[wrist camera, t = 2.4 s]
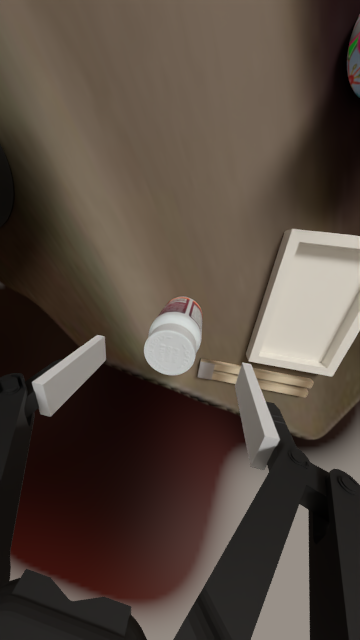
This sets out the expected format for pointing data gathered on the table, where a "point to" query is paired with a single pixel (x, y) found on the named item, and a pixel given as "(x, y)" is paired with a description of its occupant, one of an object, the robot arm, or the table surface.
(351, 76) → the mug
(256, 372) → the tongs
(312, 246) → the tray
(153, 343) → the pill bottle
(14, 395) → the robot arm
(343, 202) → the table surface
